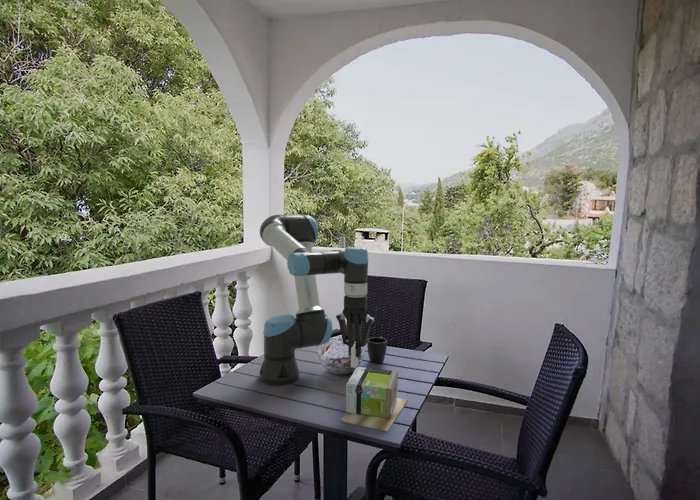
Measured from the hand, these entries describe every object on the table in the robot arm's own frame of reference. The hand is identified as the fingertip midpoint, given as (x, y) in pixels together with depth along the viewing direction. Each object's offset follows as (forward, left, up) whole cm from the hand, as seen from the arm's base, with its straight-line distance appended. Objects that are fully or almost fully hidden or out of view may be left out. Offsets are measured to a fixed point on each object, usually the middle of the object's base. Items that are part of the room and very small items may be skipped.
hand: (354, 366), depth 137 cm
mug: (-7, +43, -14) cm, 46 cm away
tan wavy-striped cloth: (+8, 0, -14) cm, 16 cm away
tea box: (-2, +1, -8) cm, 9 cm away
